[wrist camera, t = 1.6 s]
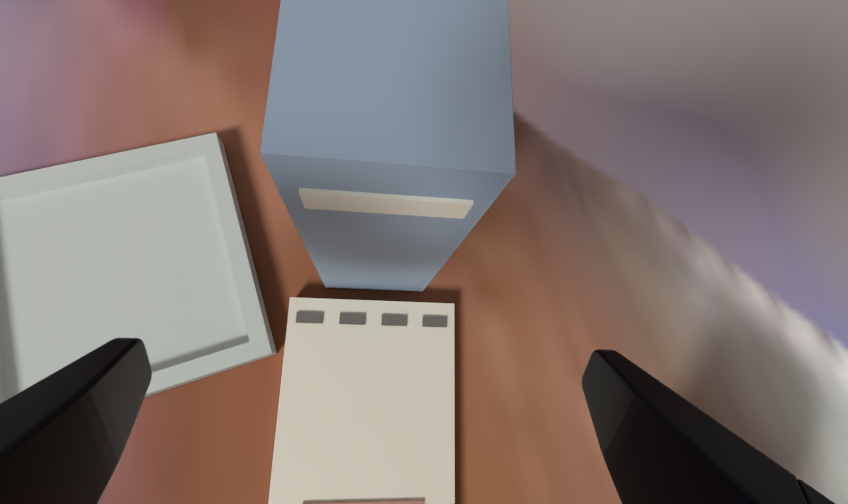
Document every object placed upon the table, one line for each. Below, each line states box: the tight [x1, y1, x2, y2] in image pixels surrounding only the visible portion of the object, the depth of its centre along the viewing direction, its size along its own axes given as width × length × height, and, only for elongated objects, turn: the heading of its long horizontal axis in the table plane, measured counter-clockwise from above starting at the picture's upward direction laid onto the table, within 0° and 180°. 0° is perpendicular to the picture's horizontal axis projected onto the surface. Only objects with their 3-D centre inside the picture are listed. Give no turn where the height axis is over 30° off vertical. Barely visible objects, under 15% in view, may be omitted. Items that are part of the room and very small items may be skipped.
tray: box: [0, 132, 277, 403], centre depth 19 cm, size 12×12×1 cm
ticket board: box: [268, 297, 455, 504], centre depth 19 cm, size 16×8×1 cm, turn 178°
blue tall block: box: [260, 0, 516, 292], centre depth 15 cm, size 5×5×14 cm
